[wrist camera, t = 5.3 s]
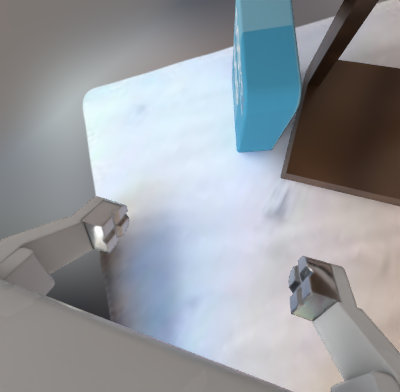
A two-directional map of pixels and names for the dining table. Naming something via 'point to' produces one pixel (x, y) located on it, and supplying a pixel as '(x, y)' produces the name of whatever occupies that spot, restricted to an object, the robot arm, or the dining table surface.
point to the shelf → (347, 119)
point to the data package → (264, 72)
